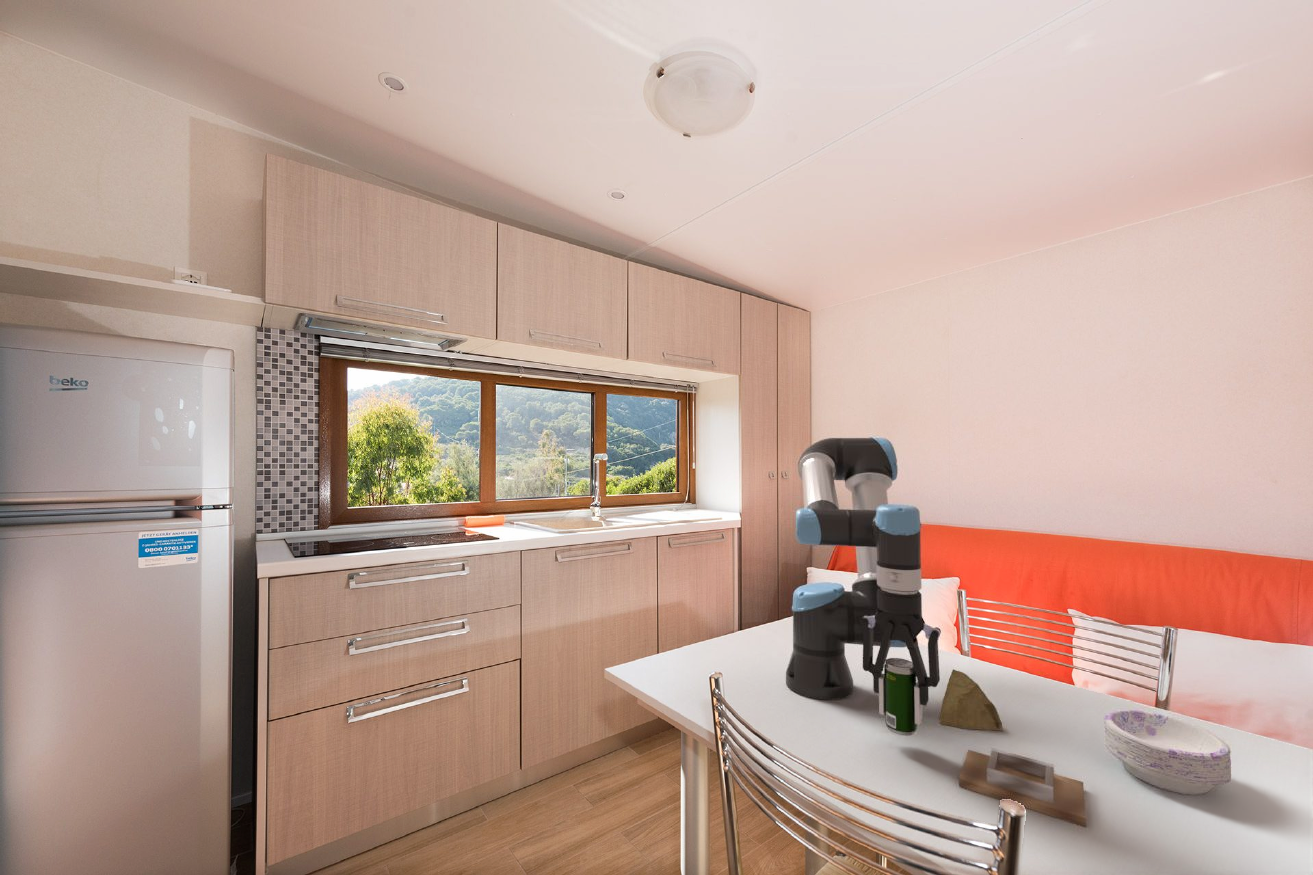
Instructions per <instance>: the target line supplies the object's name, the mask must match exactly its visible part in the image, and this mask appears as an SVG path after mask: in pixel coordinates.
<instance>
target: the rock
mask: <svg viewBox="0 0 1313 875" xmlns="http://www.w3.org/2000/svg"><path fill="white" fill-rule="evenodd" d="M940 709H941V710H940V717H939V722H938V723H939V724H940V725H942V726H943V725H944V726H946V725H947V726H950V727H955V728H960V729H968V730H982V731H986V730H993V731H1004V728H1003V722H1002V720H1001V718H1000V714H999V712H998V711H997V708H996V706H995V705H994V704H993V702H992V701H991V700H990V699H989V698H988V696H987V694H986V693H984V691H983V689H981V687H980V685H979V684H978V683H977V682H975V681H974V680H973V679H972V678H970V677H969V675H967V674H966V673H964V672H963V671H960V670H956V669H952V671H951V674H950V676H949V678H948V681H947V684H946V688H945V692H944V697H943V700H942V702H941V708H940Z"/></svg>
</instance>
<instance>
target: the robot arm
mask: <svg viewBox="0 0 1313 875" xmlns="http://www.w3.org/2000/svg"><path fill="white" fill-rule="evenodd" d="M897 460H898V458H897V454H896V450H895V447H894V446H893V444H892V441H890V440H889V439H887V438H884V437H874V436H870V437H829V438H828V437H827V438H824V439H821V440H818V441H816V442H814V443H813V444H811V445H810V446H808V447H806V449H805V450H803V453H802V454H801V456H800V457H799V460H798V463H797V472H798V477H799V478H800V479H801V481H802V496H803V508H798V509H797V510H796V511H795V538H796V539H795V540H796V542H798V543H799V544H800V545H801V544H802V545H812V546H814V547H815V546H832V547H833V546H836V547H837V546H840V547H844V546H845V547H855V554H856V556H855V557H856V568H857V570H856V571H857V579H856V580H855V581H854V582H852V584H851V591H849V590H845V588H844V586H843V585H842V584H840V583H838V582H813V583H807V584H804V585H800V586H798V587H797V588H796V589H795V590H794V591H793V594H792V595H793V596H792V606H791V611H792V652H791V654H790V655H791V656H790V658H789V662H788V665H787V668H786V671H785V685H786V686H787V687H788V689H790V690H791V691H792V692H794V693H796V694H799V695H802V696H805V697H808V698H811V699H817V700H818V699H820V700H838V699H839V700H841V699H843V698H848V697H850V696H851V695H852V694H853V693H854V680H853V676H852V673H851V670H850V667H849V664H848V660H847V658H846V654H845V653H846V652H845V650H846V648H845V647H846V646H845V644H850V645H861V646H862V669H863V670H864V671H865V672H869V673H871V674H872V677H873V679H872V680H873V681H872V683H873V685H872V687H873V691H874V693H875V694H878V705H879V707H878V711H879V712H878V713H879V714H880V715H884V716H885V689H884V673H883V672H884V666H885V664H886V663H885V661H886V659H888V658H887V657H888V653H889V651H890V649H891V648H906V649H907V650H908V653H909V655H910V656H909V657H910V659H911V660H910V661H911V662H912V663H913V667H914V670H915V673H916V685H915V687H914V699H915V724H917V726H919V725H921V723H922V721H923V706H925V707H926V706H928V705H927V704H928V702H929V688H930V687H933V688H936V687H937V686H938V684H939V683H940V682H941V681H940V680H941V678H940V674H941V673H940V661H939V660H940V658H939V638H940V636H941V633H942V630H941V628H939V627H933V626H931V625H928V624H927V623H926V622H925V620H924V618H923V613H922V612H923V610H922V609H923V608H922V605H923V604H922V602H923V601H922V593H921V592H920V590H922V565H921V564H922V559H921V556H922V555H921V553H922V550H921V549H922V548H921V544H922V543H921V540H922V539H921V530H922V523H921V516H920V515H921V514H920V510H919V508H917V507H916V506H914V505H907V504H896V503H894V504H889V500H888V490H889V489H890V488H891V487H892V486H893V482H894V481H895V480H897V477H898V470H899V469H898V464H897V463H898V461H897ZM835 481H844V486H845V488H846V490H848V491H849V492H851V501H852V509H841V508H840V507H839V506H840V505H839V501H838V496H837V490H836V489H837V488H836V484H835ZM922 631H923V632H924V635H925V638H926V639H927V640H928V642H927V653H928V654H927V655H928V673H927V670H926V667H925V664H924V660H923V657H922V654H921V651H920V647H919V641H918V637H917V636H919V634H920V633H921V632H922ZM874 647H879V649H878V653H877V656H876V659H875V663H873V662H874ZM928 675H929V676H928Z"/></svg>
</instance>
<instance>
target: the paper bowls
mask: <svg viewBox="0 0 1313 875" xmlns="http://www.w3.org/2000/svg"><path fill="white" fill-rule="evenodd" d="M1103 718H1104V719H1103V720H1104V721H1103V725H1104V743H1105V746H1106V749H1107V750H1108V751H1109V752H1110V753H1111V754H1112V755H1113V756H1114V757H1115V758H1117V759H1118V760H1120V761H1121V762H1122V765H1123V766H1124V767H1125V768H1126V769H1127V771H1128V772H1130V773H1131V775H1133V776H1134V777H1136V778H1137V779H1139V780H1142V781H1143V782H1145V783H1147V784H1150V785H1151V786H1154V787H1157V788H1158V789H1159V788H1160V789H1162V790H1165V791H1169V792H1173V793H1178V794H1183V795H1189V796H1190V795H1191V796H1192V795H1193V796H1194V795H1196V796H1197V795H1203V794H1206V793H1208V792H1209V791H1211V789H1212V788H1213V787H1219V786H1221V787H1222V786H1224V785H1227V784H1229V783H1230V782H1231V779H1232V770H1231V769H1232V760H1231V749H1230V747H1229V745H1228V744H1227V743H1226V742H1225V741H1224V740H1223V739H1222V738H1220V737H1219V736H1218V735H1216V734H1214V732H1211V731H1210V730H1207V729H1205V728H1202V727H1200V726H1198V725H1196V724H1193V723H1191V722H1189V721H1185V720H1182V719H1179V718H1176V717H1172V716H1169V715H1165V714H1162V713H1161V714H1160V713H1156V712H1150V711H1145V710H1138V709H1116V710H1111V711H1108V712H1107V713H1106V714H1105V715H1104V717H1103Z"/></svg>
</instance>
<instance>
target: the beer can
mask: <svg viewBox="0 0 1313 875" xmlns="http://www.w3.org/2000/svg"><path fill="white" fill-rule="evenodd" d="M883 674H884V689H885V713H884V723H885V726H886V728H887V729H888V730H889V732H891V733H893V734H896V735H898V736H906V737H909V736H914V734H915V733H916V732H917V730H918V724H915V699H914V687H915V685H916V683H917V677H916V673H915V670H914V667H913V663H912V660H908V659H905V658H901V657H900V658H899V657H889V658H886V661H885V664H884V668H883Z"/></svg>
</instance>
